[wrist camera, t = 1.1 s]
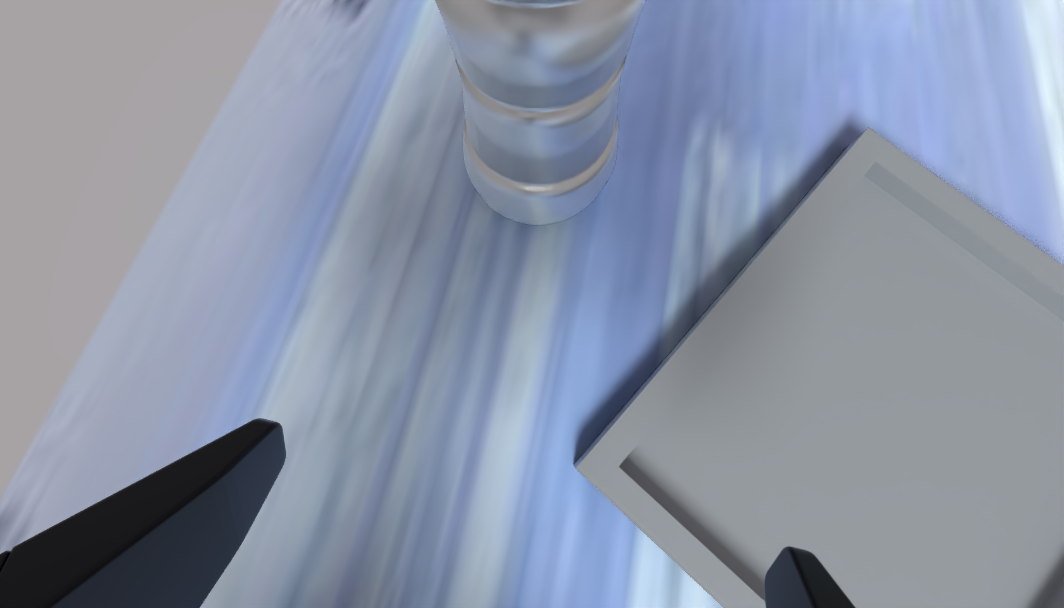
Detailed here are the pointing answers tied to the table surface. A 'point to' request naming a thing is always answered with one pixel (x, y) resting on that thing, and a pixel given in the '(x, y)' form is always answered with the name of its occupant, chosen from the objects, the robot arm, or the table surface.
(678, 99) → the table surface
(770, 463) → the tray
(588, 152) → the plastic bottle
